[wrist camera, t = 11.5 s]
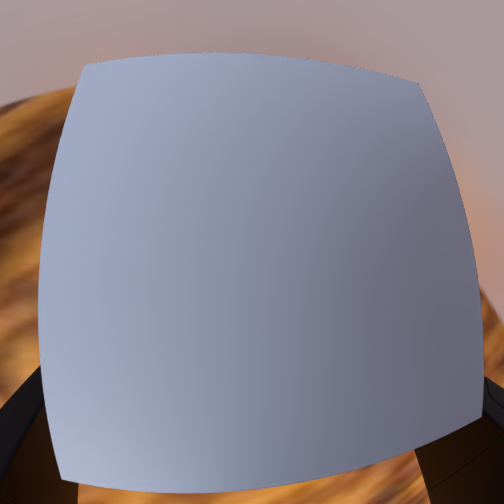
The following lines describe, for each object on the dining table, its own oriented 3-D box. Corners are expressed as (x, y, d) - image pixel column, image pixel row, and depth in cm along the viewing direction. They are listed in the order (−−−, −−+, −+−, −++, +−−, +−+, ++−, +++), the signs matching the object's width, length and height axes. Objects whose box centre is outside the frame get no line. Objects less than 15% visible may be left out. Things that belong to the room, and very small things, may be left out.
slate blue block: (277, 355, 15) (481, 417, 3) (178, 360, 15) (61, 478, 2) (270, 259, 16) (419, 83, 4) (174, 262, 16) (84, 65, 3)
